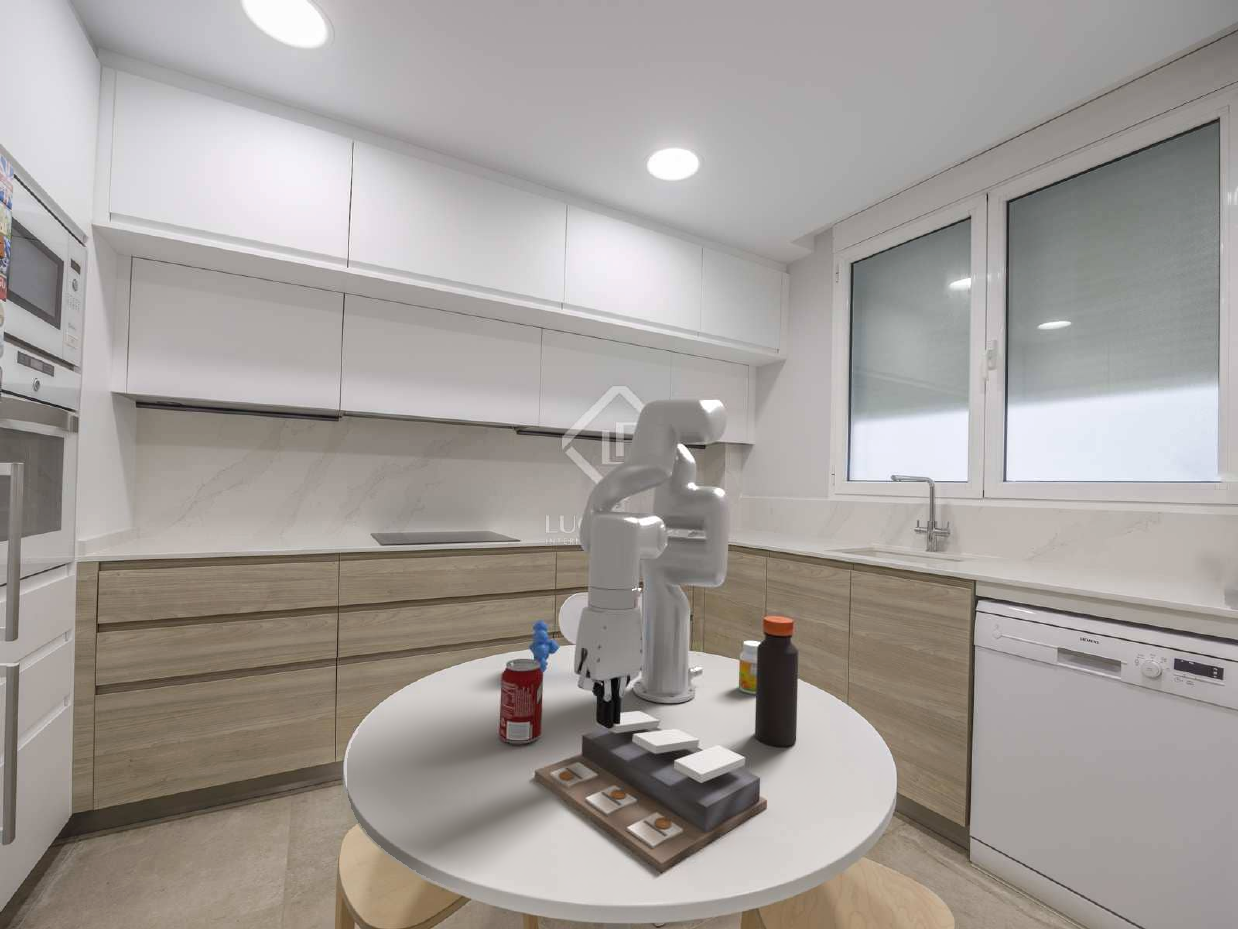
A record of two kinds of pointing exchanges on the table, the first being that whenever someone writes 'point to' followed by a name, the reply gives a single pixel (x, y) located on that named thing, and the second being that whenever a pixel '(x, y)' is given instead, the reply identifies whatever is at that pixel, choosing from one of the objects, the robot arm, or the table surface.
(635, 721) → the rocker far
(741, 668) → the supplement bottle
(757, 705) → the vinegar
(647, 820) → the rocker switch unit
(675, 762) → the rocker near
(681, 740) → the rocker middle
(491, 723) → the table surface
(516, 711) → the soda can
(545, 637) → the grapes
